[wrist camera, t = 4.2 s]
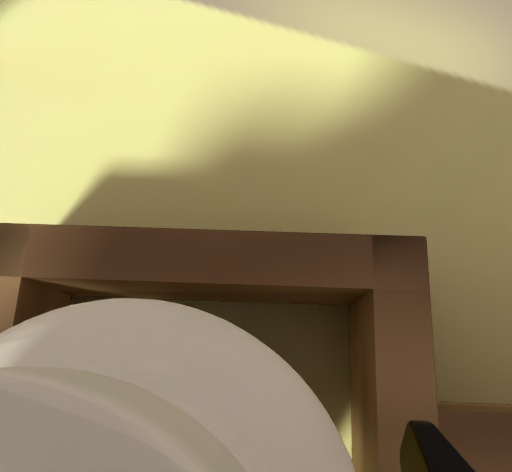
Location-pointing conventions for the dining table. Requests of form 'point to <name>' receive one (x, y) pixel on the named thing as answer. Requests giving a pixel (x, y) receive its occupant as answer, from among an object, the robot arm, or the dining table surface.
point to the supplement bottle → (155, 396)
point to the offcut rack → (275, 291)
